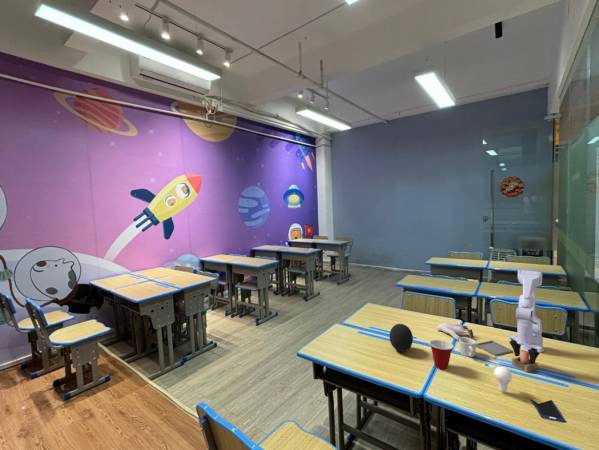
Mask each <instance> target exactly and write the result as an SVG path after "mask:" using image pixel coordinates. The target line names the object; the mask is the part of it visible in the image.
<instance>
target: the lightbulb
mask: <svg viewBox="0 0 599 450" xmlns="http://www.w3.org/2000/svg"><path fill="white" fill-rule="evenodd" d="M493 374H494V377H495V379H496V381H497V382H498V383H497V385H498V390H499V391H500V392H501V393H502V394H504V393H507V390H508V385H509V383H511V381H512V379H513V375H512V372H511V371H510V370H509V368H507V367H505V366H496V367H495V369H494V371H493Z"/></svg>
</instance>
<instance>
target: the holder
mask: <svg viewBox="0 0 599 450" xmlns="http://www.w3.org/2000/svg"><path fill="white" fill-rule="evenodd" d="M511 366H513V367H516V368H518V369H520V370H521V371H523V372H525V373H530V372H534V371H538V369H539V368H538V367H539V364H538V363H537V362H535V364H530V359H529V364H528V365H525V364H523V363H521V362H520V356H517V357H514V358H511Z"/></svg>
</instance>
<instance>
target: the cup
mask: <svg viewBox="0 0 599 450" xmlns="http://www.w3.org/2000/svg"><path fill="white" fill-rule="evenodd" d="M461 337H462V338H459V341H458V344H459V352H460V354H461V355H462V356H464V357H467V358H472V357H475V356H476V348H477V347H476V344H477V341H476V340H475V339H473V338H472V339H471V338H470V337H465V336H461Z"/></svg>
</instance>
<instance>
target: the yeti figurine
mask: <svg viewBox="0 0 599 450" xmlns="http://www.w3.org/2000/svg"><path fill="white" fill-rule="evenodd" d="M436 330H437V331H439V332H443V333H445V334H447V335H450V336H451V337H452V338H454V339H455V340H456V341H457V342H459V338H462V337H463V336H462V335H463V334H466V333H468V335H469V338H471V339H473V338H474V332H473V329H469V327H468V326H467V325H462V324H459V323H454V322H453V323H449V322H443V323H440V324H439V325H438V326H436Z"/></svg>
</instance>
